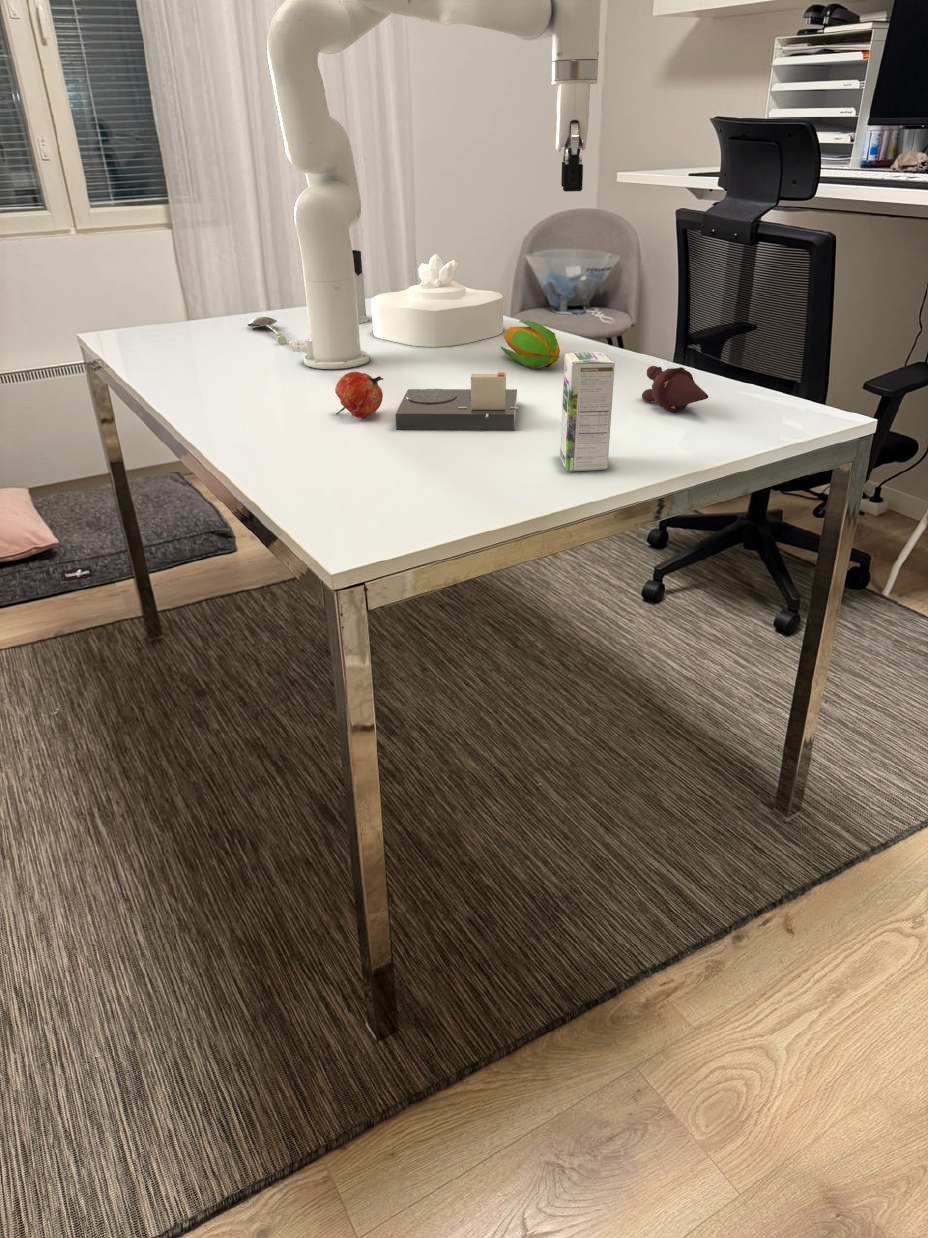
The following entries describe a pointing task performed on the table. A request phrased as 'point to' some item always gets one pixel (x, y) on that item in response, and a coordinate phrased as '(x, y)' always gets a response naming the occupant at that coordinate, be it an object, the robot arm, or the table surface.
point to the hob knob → (488, 391)
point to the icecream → (672, 388)
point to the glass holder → (359, 287)
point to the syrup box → (586, 411)
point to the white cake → (437, 310)
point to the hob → (455, 414)
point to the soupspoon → (267, 322)
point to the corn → (532, 345)
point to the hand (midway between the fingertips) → (571, 188)
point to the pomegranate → (359, 394)
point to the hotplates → (432, 396)
